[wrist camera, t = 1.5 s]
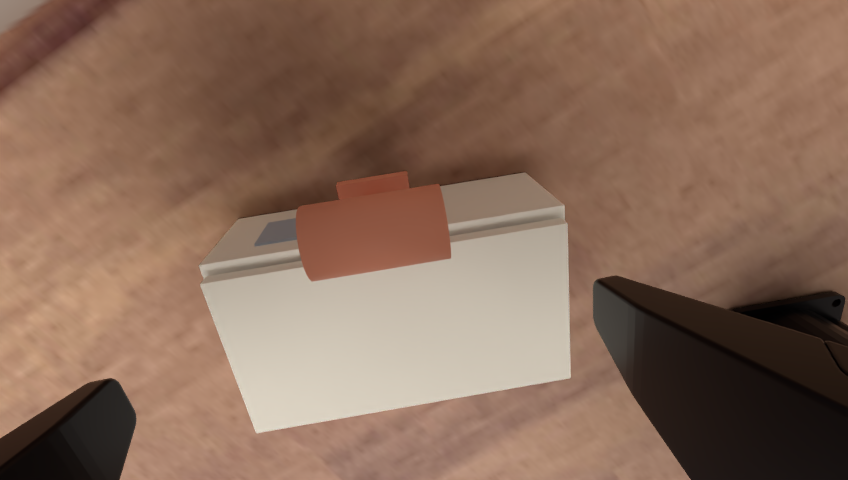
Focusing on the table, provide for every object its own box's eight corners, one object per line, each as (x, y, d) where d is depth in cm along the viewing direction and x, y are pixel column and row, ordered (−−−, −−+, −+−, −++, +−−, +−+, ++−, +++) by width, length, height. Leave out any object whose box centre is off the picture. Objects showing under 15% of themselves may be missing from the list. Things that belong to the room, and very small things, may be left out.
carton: (525, 170, 22) (564, 202, 17) (532, 306, 24) (567, 365, 20) (237, 216, 21) (197, 262, 17) (279, 349, 24) (256, 419, 19)
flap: (559, 139, 16) (617, 168, 12) (565, 368, 20) (610, 446, 16) (178, 200, 15) (110, 250, 12) (259, 422, 19) (229, 515, 15)
